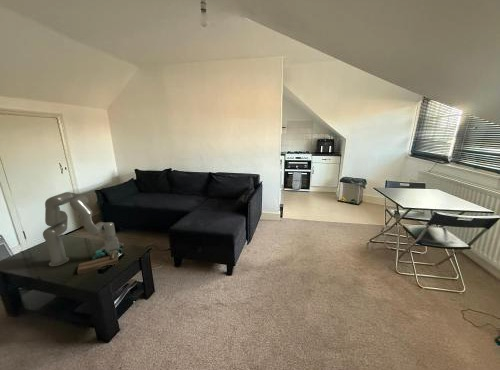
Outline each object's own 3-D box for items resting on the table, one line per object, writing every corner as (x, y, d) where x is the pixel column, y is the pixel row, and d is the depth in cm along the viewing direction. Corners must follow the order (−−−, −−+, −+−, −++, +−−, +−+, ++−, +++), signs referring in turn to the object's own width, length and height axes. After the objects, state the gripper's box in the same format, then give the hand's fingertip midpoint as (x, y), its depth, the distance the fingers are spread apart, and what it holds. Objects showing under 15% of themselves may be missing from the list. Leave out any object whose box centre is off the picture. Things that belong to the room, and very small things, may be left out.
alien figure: (119, 255, 187) (123, 244, 205) (119, 252, 186) (123, 242, 204) (92, 260, 179) (98, 249, 197) (92, 257, 179) (98, 247, 197)
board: (80, 266, 169) (79, 263, 169) (118, 257, 182) (117, 253, 182) (77, 274, 159) (77, 271, 159) (118, 263, 172) (117, 260, 172)
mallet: (110, 256, 183) (109, 249, 182) (117, 255, 186) (116, 247, 184) (110, 264, 172) (108, 256, 170) (117, 262, 175) (116, 254, 173)
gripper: (97, 241, 171) (101, 260, 175) (122, 235, 180) (125, 254, 184) (98, 237, 178) (101, 256, 181) (122, 232, 186) (125, 250, 190)
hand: (113, 255), depth 182 cm, fingers open, 9 cm apart
